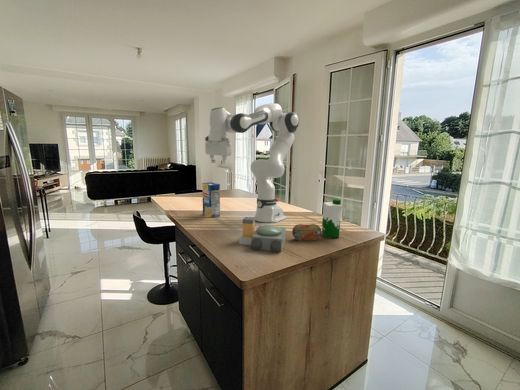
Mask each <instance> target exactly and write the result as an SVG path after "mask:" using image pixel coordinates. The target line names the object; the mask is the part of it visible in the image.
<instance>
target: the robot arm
mask: <svg viewBox="0 0 520 390" xmlns="http://www.w3.org/2000/svg"><path fill="white" fill-rule="evenodd" d="M282 109H283V108H282V106H281V105H280V104H279V103H265V104H262V105H260V106H257V107H255V108H254V110H253V113H249V114H247V113H243V112H240V113H235V114H232V113H230V112H229V111H227V110H226V108H225V107H224V106H223V107H221V106H220V107H213V108H211V110H210V113H209V126H210V127H209V128H210V130H209V134H208V135H207V136H204V141H205V148H204V149H205V150H204V151H205V154H206V155H209V157H210V160H211V163H212V164H215V163H216V159H215V156H221V158H222V159H221V161H220V164H221V165H225V164H226V160H227V157H230V156H231V155H232V144H231V140H230V139H229V138H228V137H227V133H229V134H235V133H239V134H243V133H247V131H248V130H249V129H251V127H253V126H256V125H265V124H268V125H269V127H270V129H271V131H273V132H276V133H278V135H277V137H276V139H275V140H274V141H273V143H272V145H271V146H270V147H269V150H268V153H269V155H270V156H269V158H268V159H265V158H259V159H255V160H253V161H252V162H251V164H250V172H251V173H252V174H253V176H254V177H255V180H256V185H257V198H256V210H255V215H254V217H255V222H256V221H257V222H260V223H275V224H276V223H278V222H281V221H284V220H286V219H287V218H288V217H287V216H286V215H284V210H283V207H281V206H279V205H278V204H277V202H280V198H275V197H276V194H275V193H276V187H275V185H274V184H273V182H272V181H271V178H272V179H276V178H277V179H278V178H281V177H282V176H284V173H285V169H286V168H285V165H284V159H285V158H286V156H287V154H288V152H289V151H290V149H291V147H292V146H293V143H294V141H295V134H294V133H295V132H296V131H297V128H298V127H299V125H300V117H299V115H298V113H296V112H293V111H291V112H290V111H288V112H283V110H282Z"/></svg>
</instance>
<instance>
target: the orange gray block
mask: <svg viewBox="0 0 520 390" xmlns="http://www.w3.org/2000/svg"><path fill="white" fill-rule="evenodd" d="M255 226H256V220H255V216H254V217H252V216H245V217H243V218H242V237H250V238H251V237H252V235H253V234H254V232H255V231H256V228H255Z"/></svg>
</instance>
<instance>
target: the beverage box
mask: <svg viewBox="0 0 520 390" xmlns="http://www.w3.org/2000/svg"><path fill="white" fill-rule="evenodd" d="M201 184H202V187H201V188H202V215H203V216H205V217H208V218H210V219H214V218H219V217H221V184H219V183H216V182H211V181H210V182H202V183H201Z"/></svg>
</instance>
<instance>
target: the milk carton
mask: <svg viewBox="0 0 520 390" xmlns="http://www.w3.org/2000/svg"><path fill="white" fill-rule="evenodd" d="M341 202H342V201H341V199H337V198H335V199H332V202H331V201H328V202H326V201H325V202H323V204H322V205H323V206H322V207H323V210H322V224H321V231H322V233H321V235H322V236H323V237H325V238H326V237H339V238H340V229H341V219H342V218H341V217H342V210H343V205H342V203H341Z"/></svg>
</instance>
